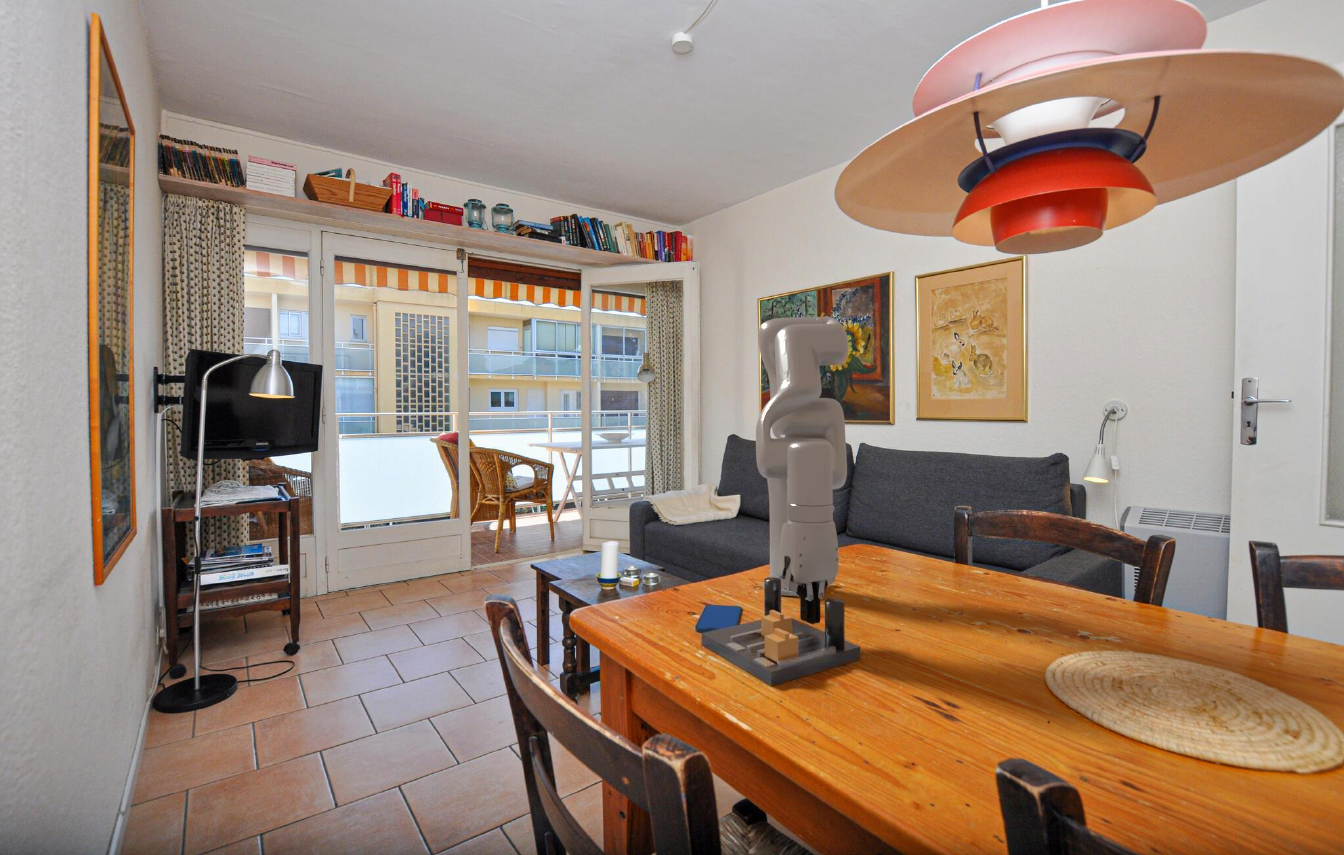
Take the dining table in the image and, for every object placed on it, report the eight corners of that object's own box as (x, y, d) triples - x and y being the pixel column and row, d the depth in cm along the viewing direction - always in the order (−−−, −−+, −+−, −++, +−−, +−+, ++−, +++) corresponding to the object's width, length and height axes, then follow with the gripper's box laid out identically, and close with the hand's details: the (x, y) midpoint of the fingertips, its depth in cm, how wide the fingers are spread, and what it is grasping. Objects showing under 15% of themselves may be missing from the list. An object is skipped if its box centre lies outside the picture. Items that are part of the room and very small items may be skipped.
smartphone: (742, 606, 120) (735, 630, 105) (742, 611, 120) (735, 636, 105) (705, 604, 121) (694, 628, 107) (706, 609, 121) (694, 633, 107)
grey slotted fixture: (780, 623, 110) (780, 575, 110) (860, 659, 94) (860, 602, 94) (698, 643, 101) (697, 590, 101) (771, 686, 85) (770, 623, 85)
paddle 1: (780, 630, 101) (779, 607, 101) (792, 635, 98) (792, 612, 98) (761, 634, 99) (761, 611, 99) (773, 640, 96) (773, 617, 96)
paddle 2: (785, 650, 92) (784, 625, 92) (798, 656, 90) (798, 631, 89) (764, 655, 90) (764, 630, 90) (777, 662, 88) (777, 636, 87)
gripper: (825, 507, 109) (826, 608, 109) (761, 514, 101) (761, 622, 102) (857, 512, 102) (858, 619, 103) (791, 521, 95) (791, 636, 95)
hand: (810, 620), depth 102 cm, fingers closed
